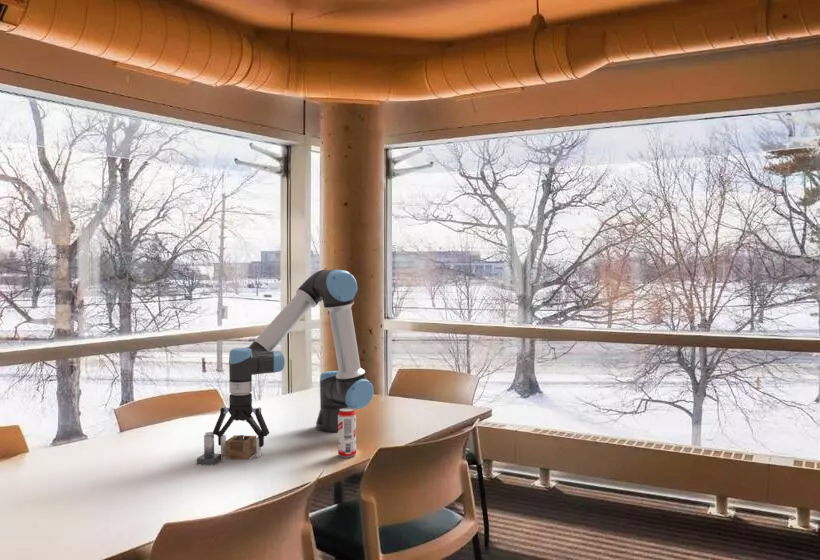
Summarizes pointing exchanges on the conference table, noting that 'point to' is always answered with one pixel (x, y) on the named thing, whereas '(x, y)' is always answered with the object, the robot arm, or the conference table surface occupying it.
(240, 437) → the stand
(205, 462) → the hub
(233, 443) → the brown box
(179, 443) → the conference table surface
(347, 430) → the beer can
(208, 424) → the conference table surface
